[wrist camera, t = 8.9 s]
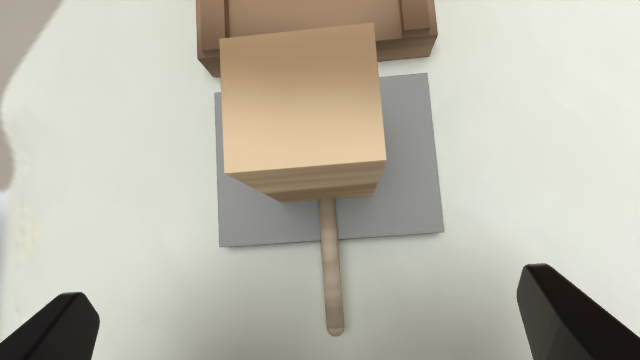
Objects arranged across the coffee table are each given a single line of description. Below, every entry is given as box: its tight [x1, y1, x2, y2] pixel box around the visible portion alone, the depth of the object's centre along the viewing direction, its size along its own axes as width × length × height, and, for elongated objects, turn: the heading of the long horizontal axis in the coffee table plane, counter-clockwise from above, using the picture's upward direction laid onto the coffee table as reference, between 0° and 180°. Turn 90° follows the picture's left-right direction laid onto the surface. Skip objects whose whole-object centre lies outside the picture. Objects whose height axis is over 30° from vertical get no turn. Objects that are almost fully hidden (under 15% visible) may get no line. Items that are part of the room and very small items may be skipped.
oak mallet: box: [219, 22, 386, 336], centre depth 16 cm, size 10×4×10 cm, turn 4°
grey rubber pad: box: [214, 73, 444, 247], centre depth 22 cm, size 8×11×2 cm
